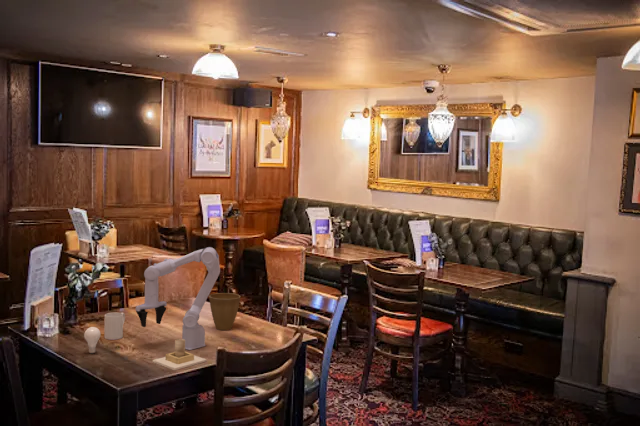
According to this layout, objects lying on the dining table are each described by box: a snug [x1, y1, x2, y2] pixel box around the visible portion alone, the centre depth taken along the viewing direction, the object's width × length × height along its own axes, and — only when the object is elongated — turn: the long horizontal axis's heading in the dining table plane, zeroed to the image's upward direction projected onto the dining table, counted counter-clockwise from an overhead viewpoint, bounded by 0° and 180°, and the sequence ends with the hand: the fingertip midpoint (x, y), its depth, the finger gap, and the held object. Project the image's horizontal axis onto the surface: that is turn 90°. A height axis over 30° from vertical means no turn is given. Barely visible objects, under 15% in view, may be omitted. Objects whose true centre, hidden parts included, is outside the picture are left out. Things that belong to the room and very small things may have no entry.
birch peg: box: [174, 338, 186, 358], centre depth 262 cm, size 4×4×8 cm
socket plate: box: [152, 351, 208, 371], centre depth 262 cm, size 16×14×3 cm
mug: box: [103, 311, 126, 341], centre depth 293 cm, size 12×8×10 cm, turn 165°
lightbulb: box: [83, 326, 102, 354], centre depth 268 cm, size 6×6×11 cm
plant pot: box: [208, 292, 241, 331], centre depth 314 cm, size 15×15×16 cm
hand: (151, 325), depth 280 cm, fingers open, 7 cm apart
